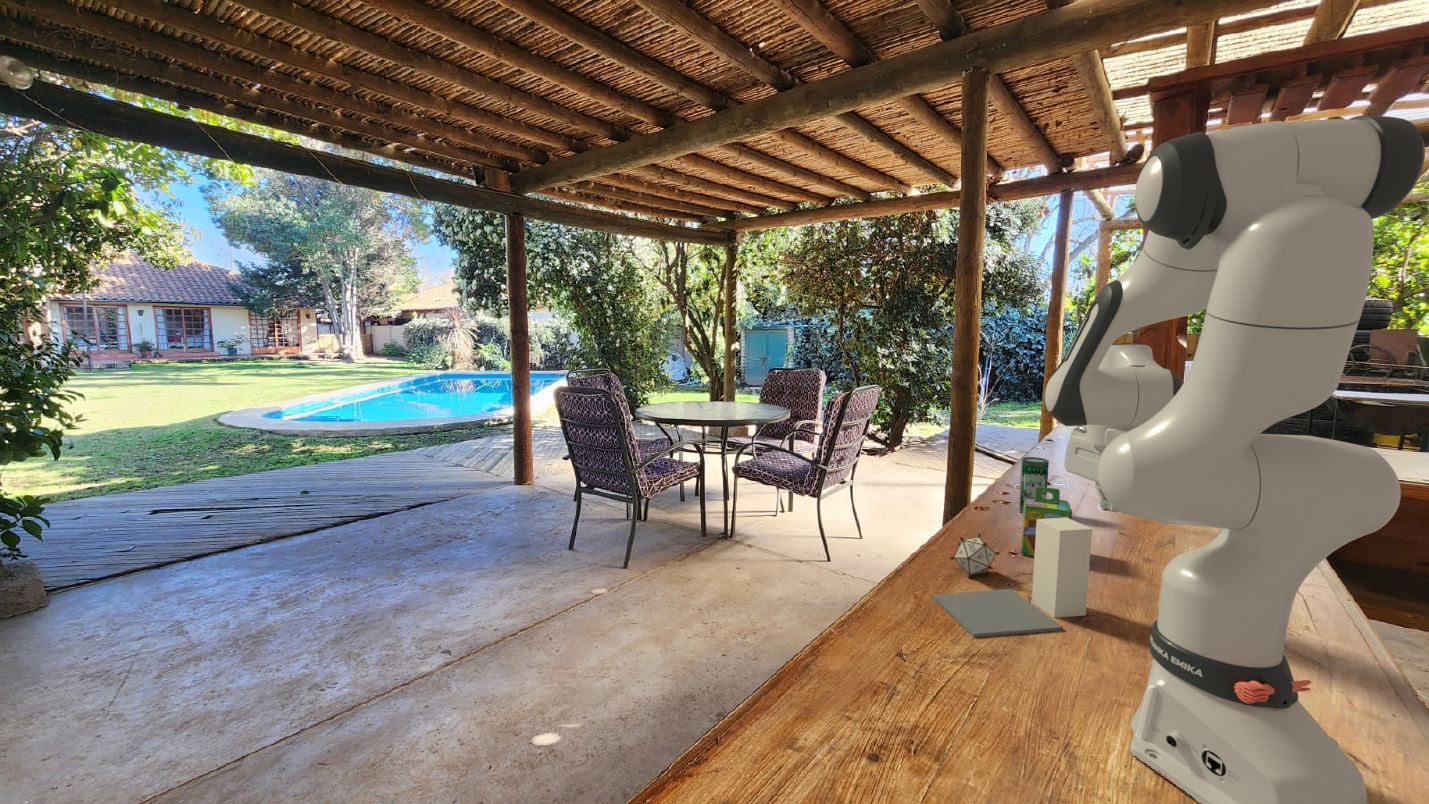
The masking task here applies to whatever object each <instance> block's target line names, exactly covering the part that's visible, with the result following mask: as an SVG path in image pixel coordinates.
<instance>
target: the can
mask: <svg viewBox="0 0 1429 804" xmlns="http://www.w3.org/2000/svg"><path fill="white" fill-rule="evenodd" d="M1020 464H1021V465H1020V466H1021V467H1020V482H1019V483H1020V484H1019V486H1020V487H1019V501H1018V512H1019V511H1020V512H1019V513H1020V514H1022V513H1023V510H1024V496H1032V497H1035V493H1036V488H1037V487H1045V488H1048V478H1049V460H1048V459H1046V458H1042V457H1037V456H1028V457H1027V456H1025V457H1022V458H1021V463H1020ZM1047 493H1048V492H1045V493H1043V494H1042V497H1043V498H1048V497H1047V495H1048V494H1047Z"/></svg>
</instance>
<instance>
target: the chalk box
mask: <svg viewBox="0 0 1429 804" xmlns="http://www.w3.org/2000/svg"><path fill="white" fill-rule="evenodd" d="M1045 492H1047V493H1048V494H1051V495H1052V498H1048V497H1047V498H1043V497H1042V494H1043V493H1045ZM1060 492H1061V491H1060V489H1059V488H1052V487H1047V488H1045V487H1037V488H1036V493H1035V497H1032V496H1024V510H1023V514H1022V526H1021V528H1022V529H1021V530H1022V531H1021V539H1020V553H1021V555H1023V556H1030V557H1034V555H1035V539H1036V522H1037V519H1049V518H1066V517H1067V518H1069V519H1071V520H1073V511H1072V508H1071V505H1070V503H1069V501H1067V500H1062V499H1060V498H1061V497H1060V494H1061V493H1060Z"/></svg>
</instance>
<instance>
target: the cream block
mask: <svg viewBox="0 0 1429 804" xmlns="http://www.w3.org/2000/svg"><path fill="white" fill-rule="evenodd" d="M1092 536H1093V528H1091V527H1089V526H1086V525H1084V524H1083V523H1080V522H1078V521H1076V520H1074V519H1072V520H1071V519H1069V518H1067V517H1066V518H1049V519H1037V522H1036V539H1035V555H1034V556H1033V559H1034V560H1033V574H1032V591H1031V602H1032V603H1033V604H1035V606H1036V605H1037V606H1036V607H1039V608H1040V609H1041V610H1043V611H1044V612H1046V613H1047V614H1048V615H1050V617H1053V618H1067V617H1079V616H1080V617H1081V616H1087V604H1088V588H1089V576H1090V564H1091V563H1090V562H1091V549H1092V548H1091V547H1092Z"/></svg>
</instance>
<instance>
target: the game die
mask: <svg viewBox="0 0 1429 804" xmlns="http://www.w3.org/2000/svg"><path fill="white" fill-rule="evenodd" d="M959 539H960V542H957V546H958V547H957V548H956V551H955V554H954V556H950V557H948V558H949V560H955V562H957V564H958V565H959V566H961V568H963V570H964V571H965V572H966V573H968V579H971V578H972V575H977V574H983V573H986V575H988V576H990V572H989V570H994V568H993V566H992V563H993V562H994V559H995V557H996V555H1000V554H1001V553H1000V552H999V551H996V552H995V551H994V550H993V549H992V548H991V547H990V546H989V545H988V542H986V541H984V540H983V539H982V538H981V533H978V534H977V536H976V537H971V538H963V537H962V536H959Z"/></svg>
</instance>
